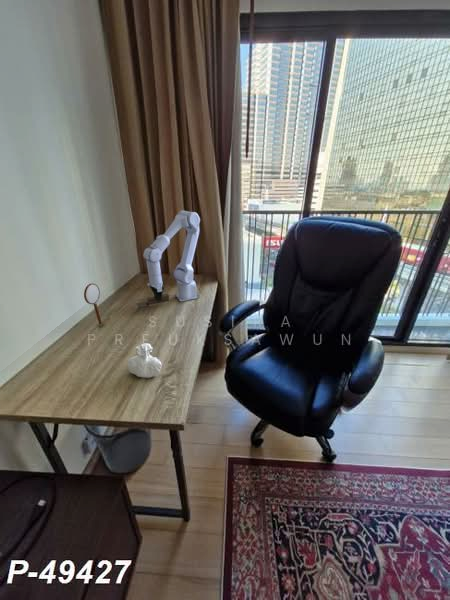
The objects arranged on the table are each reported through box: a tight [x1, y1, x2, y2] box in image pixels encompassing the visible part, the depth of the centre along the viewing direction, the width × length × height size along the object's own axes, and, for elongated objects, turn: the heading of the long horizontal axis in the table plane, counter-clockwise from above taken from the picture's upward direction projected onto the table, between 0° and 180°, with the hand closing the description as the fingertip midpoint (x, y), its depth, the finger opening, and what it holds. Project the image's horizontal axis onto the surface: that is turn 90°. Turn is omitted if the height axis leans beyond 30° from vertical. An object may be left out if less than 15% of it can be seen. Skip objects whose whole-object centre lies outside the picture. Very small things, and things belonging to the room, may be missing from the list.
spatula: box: [136, 293, 170, 310], centre depth 122 cm, size 15×5×3 cm, turn 116°
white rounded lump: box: [127, 342, 163, 379], centre depth 83 cm, size 12×8×11 cm
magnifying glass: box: [83, 283, 103, 327], centre depth 106 cm, size 9×2×20 cm, turn 169°
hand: (158, 299), depth 123 cm, fingers closed on spatula, 2 cm apart
